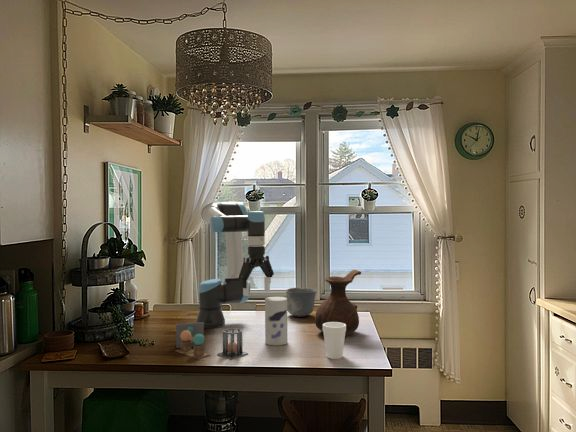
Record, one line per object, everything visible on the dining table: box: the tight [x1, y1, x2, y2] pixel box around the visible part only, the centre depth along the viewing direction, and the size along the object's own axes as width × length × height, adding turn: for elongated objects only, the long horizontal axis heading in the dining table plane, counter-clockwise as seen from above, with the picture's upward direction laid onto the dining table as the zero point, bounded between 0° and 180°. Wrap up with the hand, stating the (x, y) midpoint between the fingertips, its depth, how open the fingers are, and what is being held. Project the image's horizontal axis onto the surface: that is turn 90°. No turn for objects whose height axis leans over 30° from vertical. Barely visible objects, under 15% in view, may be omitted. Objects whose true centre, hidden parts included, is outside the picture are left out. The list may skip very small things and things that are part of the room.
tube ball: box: [227, 341, 237, 353], centre depth 198 cm, size 5×5×5 cm
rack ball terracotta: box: [180, 330, 191, 341], centre depth 203 cm, size 5×5×5 cm
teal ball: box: [193, 334, 205, 345], centre depth 197 cm, size 5×5×5 cm
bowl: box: [285, 287, 317, 318], centre depth 268 cm, size 18×18×15 cm
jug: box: [314, 269, 362, 337], centre depth 231 cm, size 22×22×30 cm
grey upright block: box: [175, 322, 205, 349], centre depth 212 cm, size 5×12×10 cm, turn 102°
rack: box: [175, 340, 211, 360], centre depth 200 cm, size 16×6×5 cm, turn 47°
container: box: [264, 296, 288, 346], centre depth 215 cm, size 10×10×20 cm
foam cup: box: [322, 322, 346, 360], centre depth 195 cm, size 10×9×13 cm
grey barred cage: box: [216, 327, 249, 360], centre depth 198 cm, size 9×9×10 cm
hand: (256, 293), depth 213 cm, fingers open, 13 cm apart
